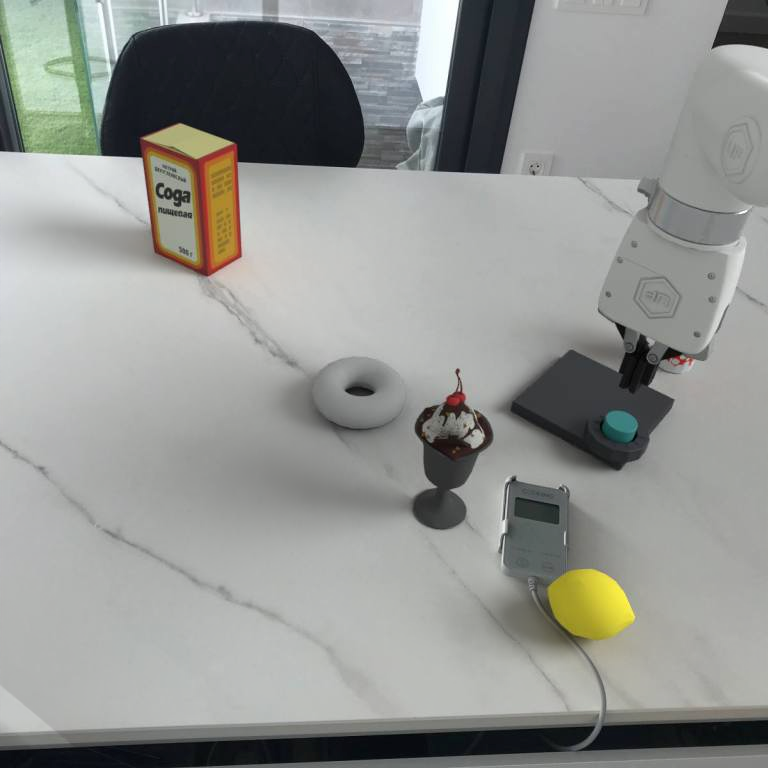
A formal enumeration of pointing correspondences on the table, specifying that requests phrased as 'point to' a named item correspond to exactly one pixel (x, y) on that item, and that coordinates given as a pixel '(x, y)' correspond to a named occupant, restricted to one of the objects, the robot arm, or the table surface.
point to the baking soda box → (193, 197)
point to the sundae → (449, 456)
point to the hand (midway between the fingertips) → (632, 383)
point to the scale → (591, 407)
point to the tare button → (619, 426)
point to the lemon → (590, 604)
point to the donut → (359, 408)
